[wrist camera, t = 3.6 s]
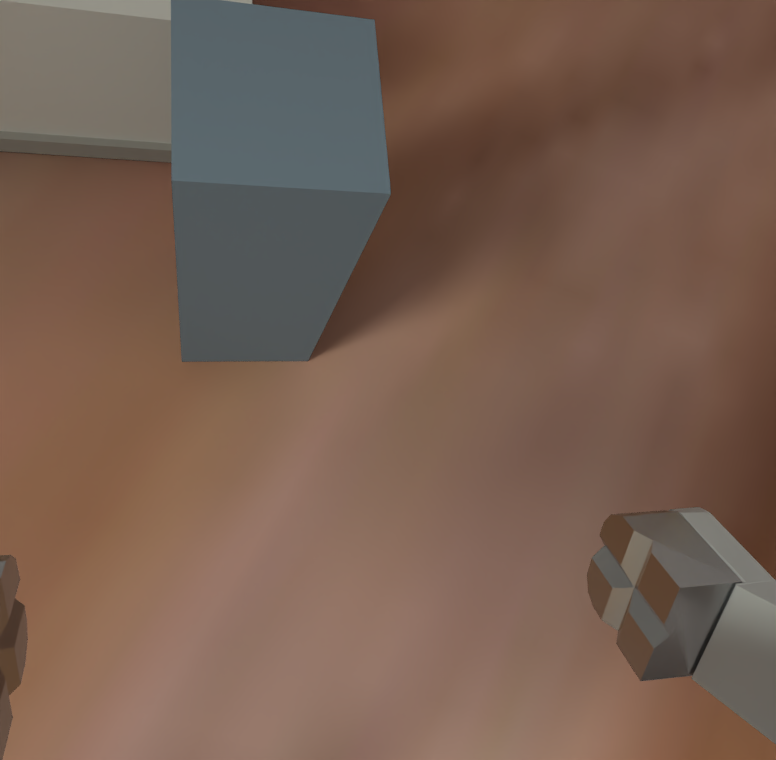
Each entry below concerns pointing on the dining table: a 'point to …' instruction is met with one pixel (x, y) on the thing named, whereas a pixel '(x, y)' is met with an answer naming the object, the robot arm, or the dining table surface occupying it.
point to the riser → (86, 78)
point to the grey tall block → (270, 172)
